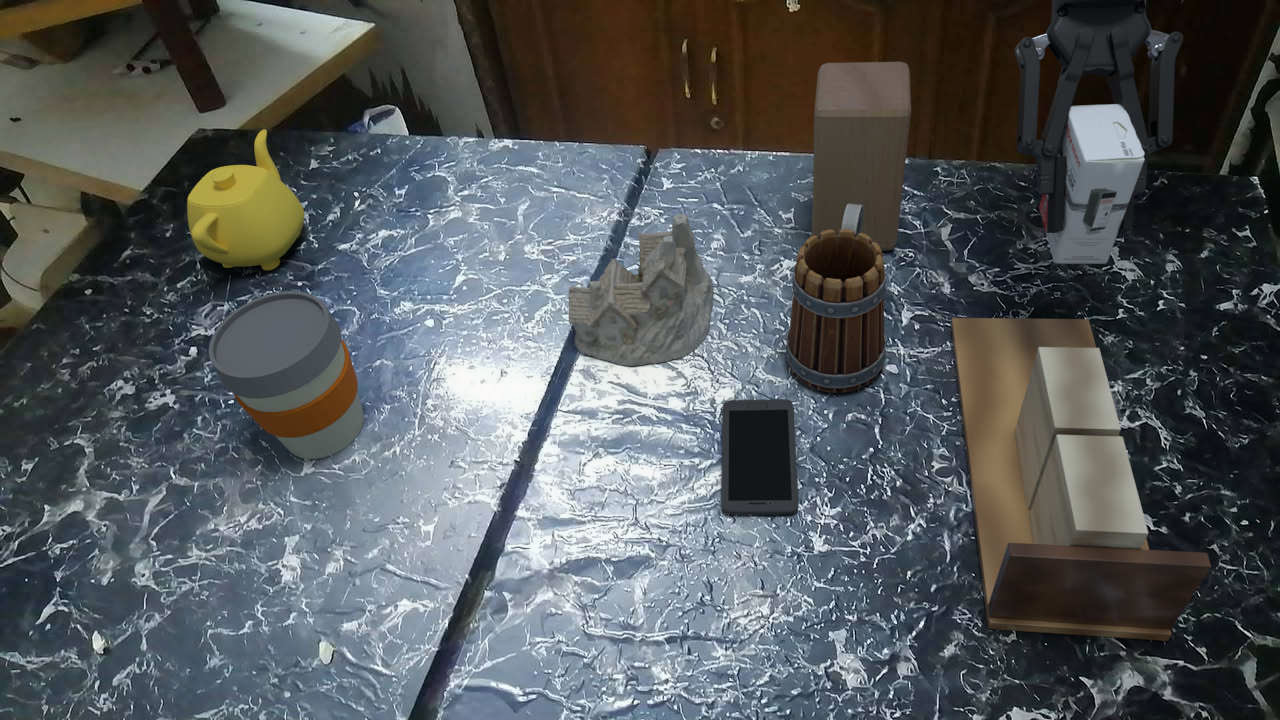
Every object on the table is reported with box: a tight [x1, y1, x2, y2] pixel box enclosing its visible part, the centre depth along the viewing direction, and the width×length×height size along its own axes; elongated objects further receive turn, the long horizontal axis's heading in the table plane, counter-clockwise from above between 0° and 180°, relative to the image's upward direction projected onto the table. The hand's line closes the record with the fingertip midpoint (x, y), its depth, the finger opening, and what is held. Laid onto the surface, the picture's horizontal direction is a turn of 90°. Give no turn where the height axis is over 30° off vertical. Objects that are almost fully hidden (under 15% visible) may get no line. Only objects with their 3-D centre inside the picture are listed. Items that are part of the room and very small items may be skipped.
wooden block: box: [811, 61, 912, 252], centre depth 108 cm, size 10×10×20 cm
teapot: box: [186, 128, 306, 271], centre depth 123 cm, size 13×20×12 cm
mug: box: [785, 204, 887, 393], centre depth 97 cm, size 16×11×15 cm
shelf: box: [950, 317, 1212, 642], centre depth 84 cm, size 14×36×13 cm, turn 172°
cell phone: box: [720, 398, 799, 516], centre depth 93 cm, size 7×14×1 cm, turn 176°
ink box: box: [1038, 103, 1145, 265], centre depth 84 cm, size 9×5×12 cm, turn 174°
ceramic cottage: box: [567, 213, 715, 367], centre depth 104 cm, size 16×16×15 cm
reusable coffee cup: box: [208, 290, 365, 460], centre depth 97 cm, size 13×12×15 cm
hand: (1088, 231), depth 83 cm, fingers closed on ink box, 5 cm apart
